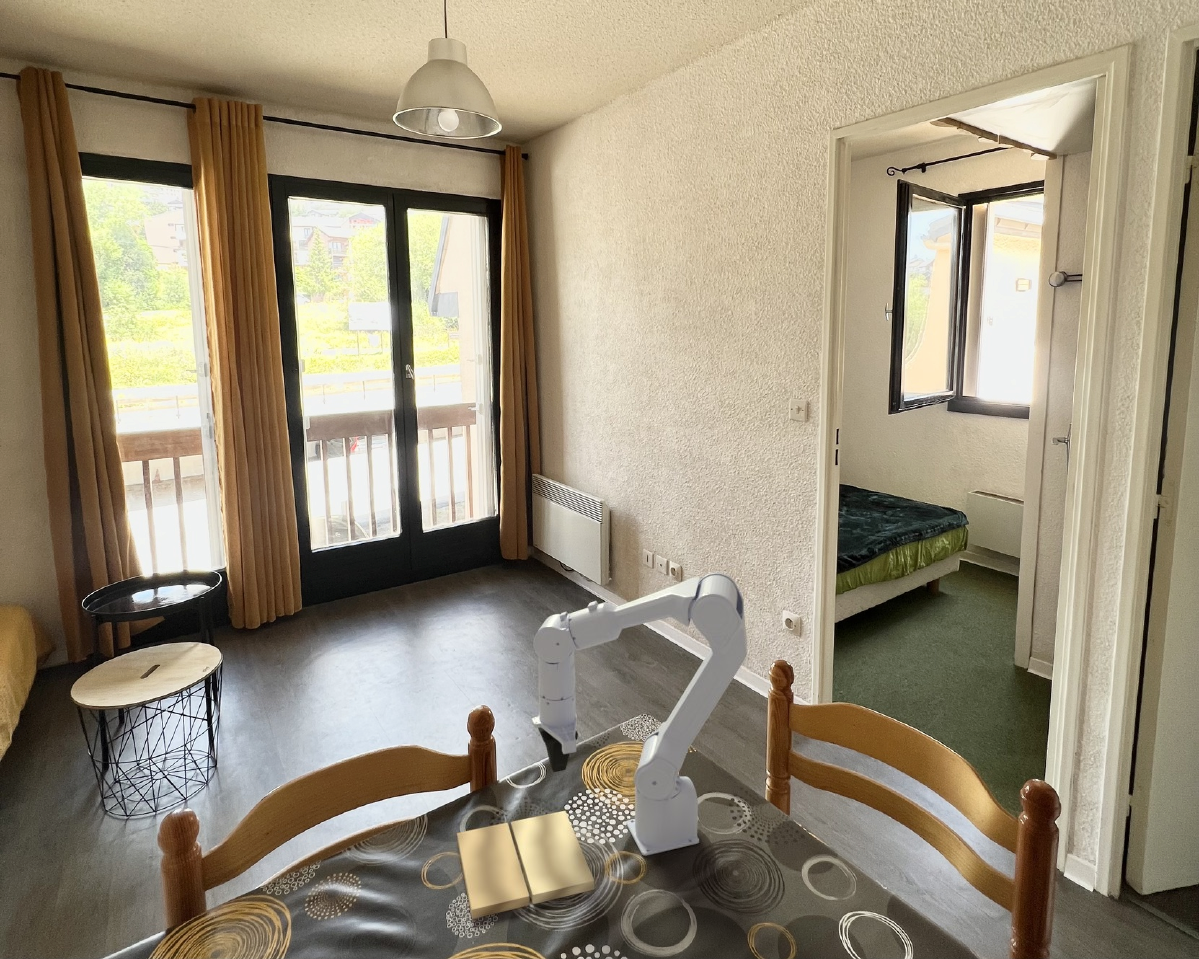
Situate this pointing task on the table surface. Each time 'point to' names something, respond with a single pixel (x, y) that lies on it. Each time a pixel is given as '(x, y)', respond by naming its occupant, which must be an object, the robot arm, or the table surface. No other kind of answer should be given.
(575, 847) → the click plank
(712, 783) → the table surface
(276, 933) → the table surface
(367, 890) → the table surface
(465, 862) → the laid oak board
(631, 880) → the table surface
